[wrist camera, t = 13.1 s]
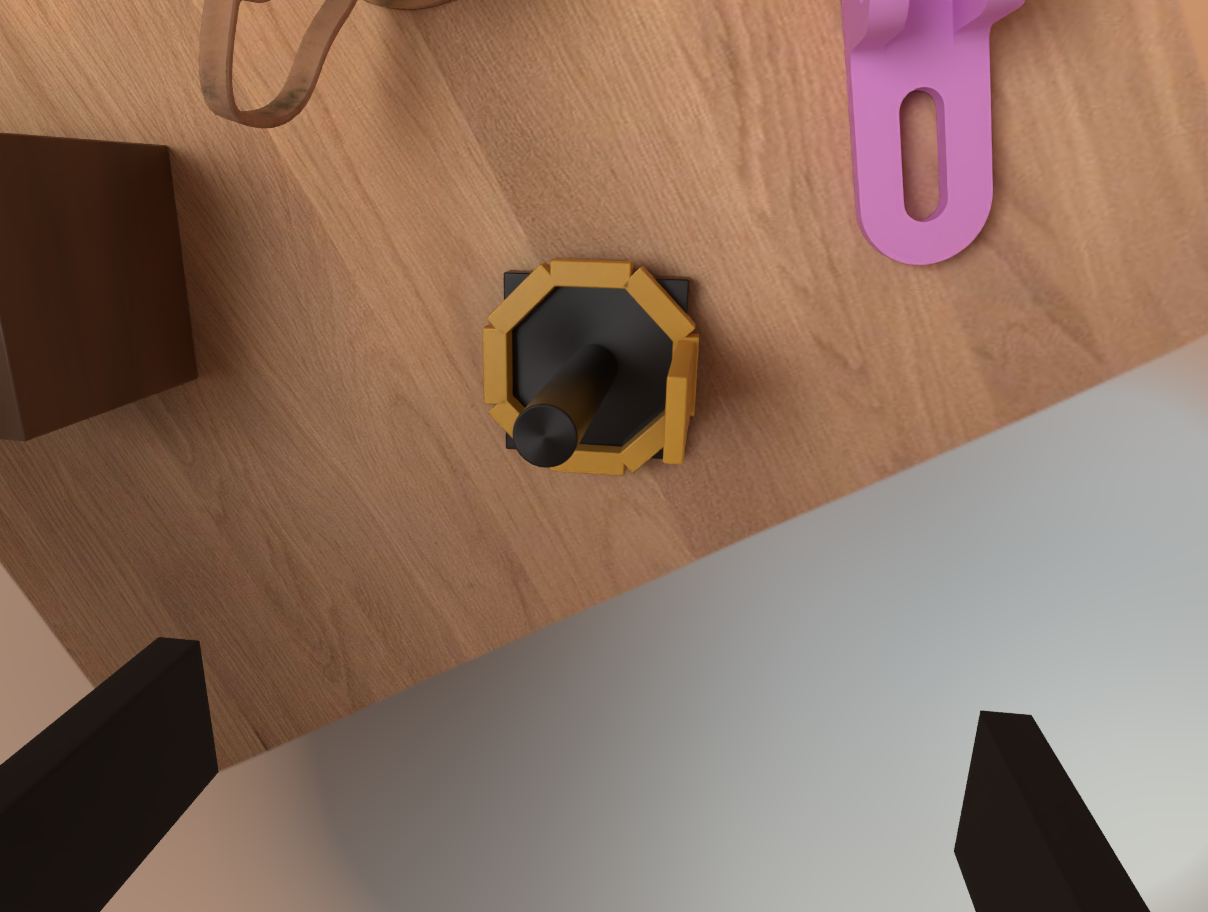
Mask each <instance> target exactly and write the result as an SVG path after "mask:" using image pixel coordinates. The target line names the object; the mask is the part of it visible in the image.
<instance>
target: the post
mask: <svg viewBox="0 0 1208 912" xmlns="http://www.w3.org/2000/svg"><path fill="white" fill-rule="evenodd" d="M532 272H533V271H518V270H510V271H507V272H505V273H504V300H505V299H506V298H507V297H508V296H509V295H510V294H511V293H512V292H513V291H514V290H515V289H516V288H517V287H518V286H519V285H520V284H521V283H522V282H523V281H524V280H525V279H526V278H527V277H528V276H529V275H530V274H531V273H532ZM653 277H654V278H655V280H656V281H657V282H658V283H659V284H660V285H661V286H662V287H663V288H664V289H665V291H666V292H667V293H668V294H669V295H670V296H671V297H672V298H673V299H674V301H675V302H676V303H677V304H678V305H679V306H680V307H681V308H682V309H683V310H684V312H685V313H686V314H687V315H688V309H689V291H690V277H675V276H653ZM672 352H673V341H672V340H671V339H670V338H669V337H668V336H667V334H666V333H665V332H664V331H663V330H662V329H661V328H660V327H659V326H658V325H657V323H656V322H655V321H654V320H653V319H652V318H651V317H650V316H649V315H648V314H647V313H646V311H645V310H644V309H643V308H642V307H641V306H640V305H639V304H638V303H637V302H636V300H635V299H634V298H633V297H632V296H631V295H630V294H629V293H628V292H627V291H626V290H625V289H612V288H587V287H562V286H556V287H555V288H554V289H553V290H552V291H551V292H550V293H549V294H548V295H547V296H546V297H545V298H544V299H543V300H542V301H541V302H540V303H539V304H538V305H537V306H536V307H535V308H534V309H533V310H532V311H531V312H530V313H529V314H528V315H527V316H526V317H525V318H524V319H523V320H522V321H521V322H520V323H519V324H518V325H517V326H516V327H515V328H514V329H513V330H512V376H513V396H514V397H515V398H516V399H517V400H518V401H519V402H520V403H521V404H522V405H523V406H524V407H525V409H524V410H523V411H522V412H521V413H520V414H519V416H518V417H517V419H516V421H515V423H514V426H513V438H512V437H511V436H510V435H509V434H508V433H507V432H506V448H507V449H517V451H518V452H519V454H520V455H521V456H522V457H523V458H524V459H525V460H526V461H528V462H529V463H531V464H533V465H536V466H539V467H545V468H550V467H555V466H559V465H561V464H563V463H565V462H566V461H567V460H568V459H569V458H570V457H571V456H572V455H573V453H574V452H575V450H576V448H577V446H578V444H587V445H603V446H619V447H622V446H624V445H625V444H626V443H627V442H628V441H629V440H630V439H632V438H633V437H634V436H635V435H636V434H637V433H639V432H640V431H641V430H642V429H643V428H644V427H645V426H647V425H648V424H649V423H650V422H651V421H652V420H653V419H655V418H656V417H657V416H658V415H659V414H660V413H662V412H663V411H664V410H665V406H666V386H667V376H668V373H669V369H670V366H671V362H672ZM651 458H659V459H663V448H662V449H661V450H659V451H658V452H657V453H656V454H655V455H654V456H652V457H651Z"/></svg>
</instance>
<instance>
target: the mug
mask: <svg viewBox="0 0 1208 912" xmlns="http://www.w3.org/2000/svg"><path fill="white" fill-rule="evenodd" d="M241 1H242V0H204V8H203V16H202V25H201V35H200V50H199V75H200V83H201V89H202V92H203V96H204V99H205V101H206V103H207V105H208V107H209V108H210V109H211V110H212V111H213V112H214V113H215V114H216V115H218V116H220V117H223V118H226V119H228V120H231V121H234V122H237V123H240V124H243V125H246V126H250V127H256V128H273V127H277V126H280V125H283V124H285V123H287V122H289V121H291V120H292V119H293V118H294V117H295V116H297V115H298V114H299V113H300V112H301V111H302V109H303V108H304V107H305V106H306V104H307V102H308V101H309V99H310V97H311V95H312V93H313V91H314V88H315V86H316V83H317V81H318V78H319V75H320V72H321V69H322V67H323V64H324V61H325V59H326V56H327V54H328V51H329V49H330V47H331V45H332V43H333V41H334V39H335V37H336V35H337V34H338V32H339V30H340V29H341V27H342V26H343V24H344V23H345V21H346V19H347V18H348V16H349V15H350V13H351V11H352V9H353V8H354V6H355V4H356V2H357V0H326V1H325V2H324V4H323V5H322V7H321V8H320V10H319V11H318V13H317V14H316V16H315V17H314V19H313V21H312V22H311V24H310V26H309V27H308V29H307V31H306V33H305V35H304V37H303V40H302V42H301V44H300V47H299V49H298V52H297V54H296V57H295V60H294V63H293V66H292V68H291V71H290V74H289V76H288V79H287V81H286V83H285V85H284V87H283V89H282V90H281V92H280V93H279V95H278V96H277V97H276V98H275V100H273V101H272V102H271V103H269V104H268V105H266V106H265V107H262V108H260V109H256V110H252V111H240V110H239V109H238V108H237V106H236V104H235V100H234V96H233V87H232V63H233V50H234V40H235V32H236V24H237V17H238V10H239V4H240V2H241ZM245 1H250V2H255V3H263V2H268V1H270V0H245ZM365 1H368V2H370V3H373V4H376V5H379V6H383V7H388V8H394V9H421V8H427V7H432V6H436V5H439V4H442V3H445V2H447V1H450V0H365Z"/></svg>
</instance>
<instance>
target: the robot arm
mask: <svg viewBox="0 0 1208 912" xmlns="http://www.w3.org/2000/svg"><path fill="white" fill-rule="evenodd" d="M218 772H219V771H218V765H217V758H216V751H215V744H214V737H213V730H212V724H211V717H210V710H209V703H208V696H207V689H206V683H205V676H204V669H203V662H202V655H201V649H200V642H199V641H196V640H185V639H174V638H162V637H158V638H157V639H156V640H155V641H153V642H152V643H151V644H150V645H148V646H147V647H146V648H145V649H143V650H142V651H141V652H140V653H138V654H137V655H136V656H135V657H133V658H132V659H131V660H130V661H129V662H127V663H126V664H125V665H124V666H122V667H121V668H120V669H119V670H117V671H116V672H115V673H114V674H112V675H111V676H110V677H109V678H108V679H106V680H105V681H104V682H103V683H101V684H100V685H99V686H98V687H96V688H95V689H94V690H93V691H92V692H90V693H89V694H88V695H87V696H85V697H84V698H83V699H82V700H80V701H79V702H78V703H77V704H76V705H74V706H73V707H72V708H70V709H69V710H68V711H67V712H65V713H64V714H63V715H62V716H61V717H59V718H58V719H57V720H56V721H54V722H53V723H52V724H51V725H49V726H48V727H47V728H46V729H45V730H43V731H42V732H41V733H40V734H38V735H37V736H36V737H35V738H33V739H32V740H31V741H30V742H29V743H27V744H26V745H25V746H23V747H22V748H21V749H20V750H19V751H17V752H16V753H15V754H14V755H12V756H11V757H10V758H9V759H7V760H6V761H5V762H4V763H2V764H1V765H0V912H100V911H101V910H102V909H103V907H104V906H105V905H106V904H107V903H108V902H109V900H110V899H111V898H112V897H113V896H114V894H115V893H116V892H117V891H118V890H119V889H120V888H121V886H122V885H123V884H124V883H125V881H126V880H127V879H128V878H129V877H130V876H131V874H132V873H133V872H134V871H135V870H136V869H137V867H138V866H139V865H140V864H141V863H142V861H143V860H144V859H145V858H146V857H147V855H148V854H149V853H150V852H151V851H152V850H153V849H154V847H155V846H156V845H157V844H158V843H159V842H160V840H161V839H162V838H163V837H164V836H165V834H166V833H167V832H168V831H169V830H170V828H171V827H172V826H173V825H174V824H175V823H176V821H177V820H178V819H179V818H180V817H181V815H182V814H183V813H184V812H185V811H186V810H187V808H188V807H189V806H190V805H191V804H192V802H193V801H194V800H195V799H196V798H197V796H199V794H200V793H201V792H202V791H203V789H204V788H205V787H206V786H207V785H208V784H209V783H210V781H211V780H212V779H213V778H214V777H215V776H216V774H217V773H218ZM954 853H955V856H956V858H957V861H958V864H959V867H960V869H961V872H962V875H963V878H964V880H965V883H966V886H967V889H968V891H969V894H970V897H971V900H972V902H973V905H974V908H975V911H976V912H1150V911H1149V909H1148V907H1147V906H1146V904H1145V902H1144V901H1143V899H1142V897H1141V896H1140V894H1139V892H1138V891H1137V889H1136V888H1135V886H1134V884H1133V882H1132V881H1131V879H1130V877H1129V876H1128V874H1127V873H1126V871H1125V869H1124V868H1123V866H1122V864H1121V863H1120V861H1119V860H1118V858H1117V856H1116V855H1115V853H1114V851H1113V849H1112V848H1111V846H1110V844H1109V843H1108V841H1107V839H1106V838H1105V836H1104V834H1103V833H1102V831H1101V830H1100V828H1099V826H1098V825H1097V823H1096V821H1095V819H1094V818H1093V816H1092V815H1091V813H1090V811H1089V810H1088V808H1087V806H1086V805H1085V803H1084V801H1083V800H1082V798H1081V796H1080V795H1079V793H1078V791H1077V790H1076V788H1075V786H1074V785H1073V783H1072V781H1071V780H1070V778H1069V776H1068V775H1067V773H1066V772H1065V770H1064V768H1063V767H1062V765H1061V763H1060V761H1059V760H1058V758H1057V757H1056V755H1055V753H1054V752H1053V750H1052V748H1051V747H1050V745H1049V743H1048V742H1047V740H1046V738H1045V737H1044V735H1043V733H1042V732H1041V730H1040V728H1039V727H1038V725H1037V724H1036V722H1035V720H1034V719H1033V717H1032V715H1025V714H1014V713H1003V712H991V711H980V716H979V722H978V726H977V732H976V737H975V743H974V747H973V753H972V758H971V764H970V769H969V774H968V780H967V784H966V790H965V795H964V800H963V806H962V811H961V816H960V822H959V827H958V832H957V838H956V843H955V848H954Z"/></svg>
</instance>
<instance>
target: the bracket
mask: <svg viewBox="0 0 1208 912" xmlns="http://www.w3.org/2000/svg"><path fill="white" fill-rule="evenodd" d="M841 2H842V17H843V32H844V46H845V61H846V75H847V90H848V104H849V119H850V134H851V148H852V163H853V177H854V192H855V207H856V216H857V220H858V224H859V227H860V229H861V231H862V233H863V235H864V237H865V238H866V240H867V241H868V242H869V243H870V245H871V246H873V247H874V248H875V249H876V250H877V251H878V252H880V253H881V254H883V255H885V256H887V257H889V258H891V259H894V260H896V261H899V262H902V263H906V264H913V265H926V264H932V263H936V262H940V261H943V260H946V259H948V258H950V257H952V256H954V255H955V254H957V253H959V252H960V251H962V250H963V249H964V248H965V247H967V246H968V245H969V244H970V243H971V242H972V241H973V240H974V239H975V237H976V236H977V235H978V234H979V232H980V231H981V229H982V227H983V226H984V224H985V222H986V220H987V217H988V215H989V212H990V208H991V204H992V197H993V178H992V135H991V92H990V49H989V35H990V29H991V26H992V24H994V23H995V22H997V21H999V20H1000V19H1002V18H1004V17H1005V16H1007V15H1008V14H1010V13H1012V12H1013V11H1015V10H1017V9H1018V8H1020V7H1021V6H1022V5H1023V4H1024V2H1025V0H841ZM911 91H923V92H926V93H928V94H929V95H930V96H931V97H932V98H933V100H934V101H935V104H936V110H937V135H938V159H939V184H940V202H939V205H938V208H937V209H936V211H935V212H934V213H933V214H932V215H931V216H930V217H928V218H926V219H924V220H921V221H915V220H913V219H912V218H911V217H909V215H908V214H907V213H906V211H905V208H904V198H903V179H902V160H901V141H900V122H899V109H900V105H901V102H902V101H903V99H904V97H905V96H906V95H907V94H908V93H909V92H911Z"/></svg>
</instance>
